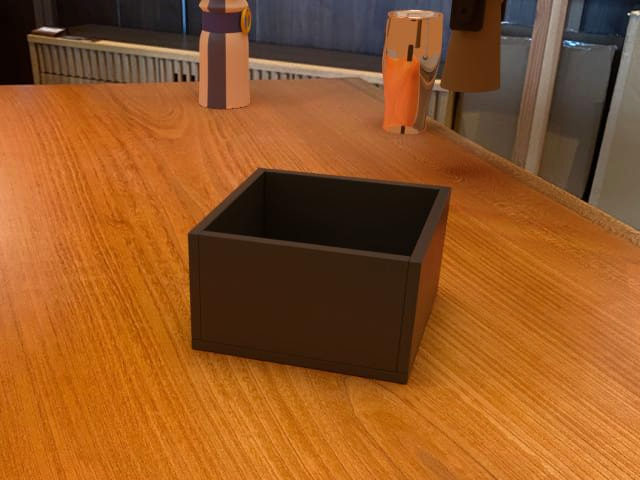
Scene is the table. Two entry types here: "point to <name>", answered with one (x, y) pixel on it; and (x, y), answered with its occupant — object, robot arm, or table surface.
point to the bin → (319, 271)
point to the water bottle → (224, 54)
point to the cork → (475, 55)
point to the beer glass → (410, 68)
